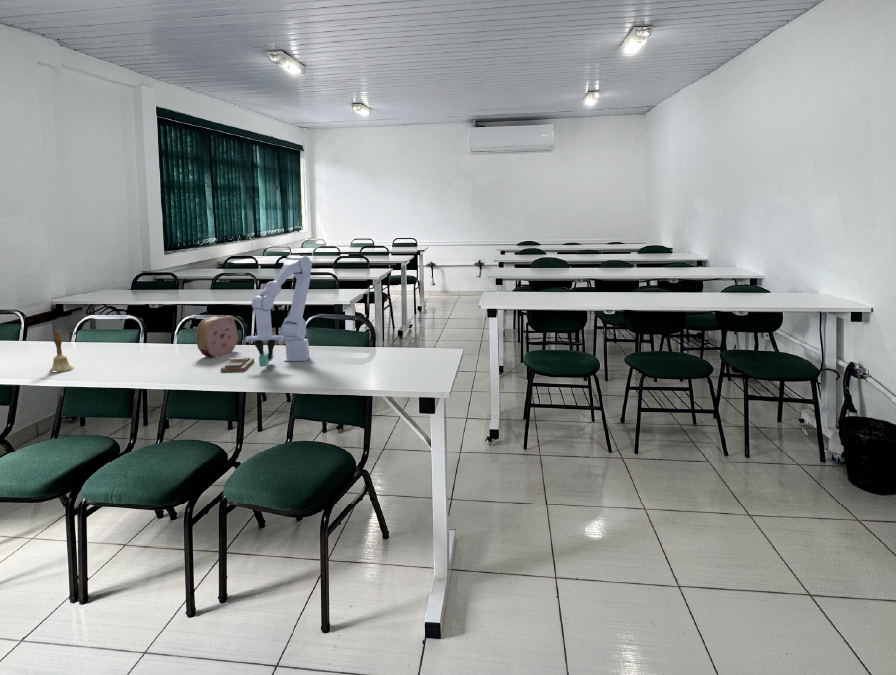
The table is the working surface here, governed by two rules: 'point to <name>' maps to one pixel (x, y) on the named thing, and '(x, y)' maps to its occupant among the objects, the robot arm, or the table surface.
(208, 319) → the face sculpture
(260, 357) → the mint green bar
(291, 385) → the table surface
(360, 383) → the table surface
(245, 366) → the display stand
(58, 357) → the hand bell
